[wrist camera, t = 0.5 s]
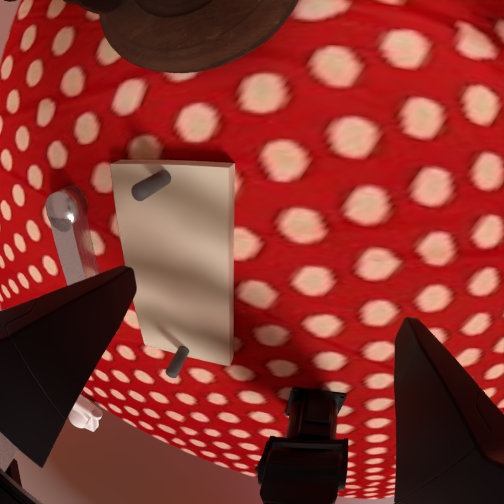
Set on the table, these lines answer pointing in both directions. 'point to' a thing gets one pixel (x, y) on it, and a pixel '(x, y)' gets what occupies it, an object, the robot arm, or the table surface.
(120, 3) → the dark brown upright piece
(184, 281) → the peg rack
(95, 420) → the plane toy
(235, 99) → the table surface
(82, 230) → the grey baby rattle
